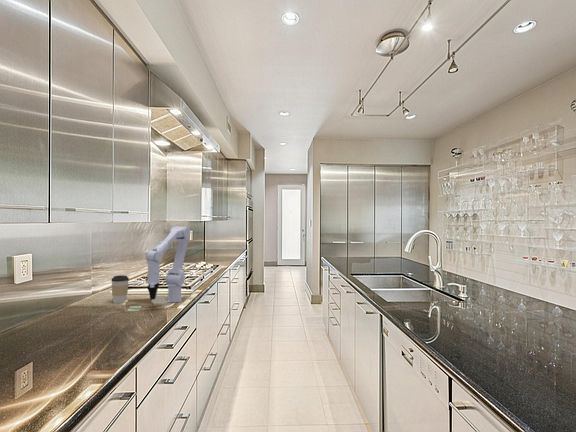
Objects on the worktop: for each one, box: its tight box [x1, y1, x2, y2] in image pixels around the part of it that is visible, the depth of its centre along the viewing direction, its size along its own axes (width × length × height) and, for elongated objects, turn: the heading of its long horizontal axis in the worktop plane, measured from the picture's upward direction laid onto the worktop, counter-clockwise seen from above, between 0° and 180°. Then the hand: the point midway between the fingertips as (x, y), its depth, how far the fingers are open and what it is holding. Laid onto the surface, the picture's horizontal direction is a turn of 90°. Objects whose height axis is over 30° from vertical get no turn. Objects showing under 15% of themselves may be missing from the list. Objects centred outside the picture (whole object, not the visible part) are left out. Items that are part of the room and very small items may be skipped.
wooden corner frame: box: [120, 297, 154, 313], centre depth 175 cm, size 13×14×4 cm
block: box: [152, 290, 167, 304], centre depth 176 cm, size 7×4×6 cm, turn 107°
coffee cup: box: [111, 274, 130, 304], centre depth 187 cm, size 9×9×15 cm
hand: (153, 298), depth 175 cm, fingers closed on block, 4 cm apart
